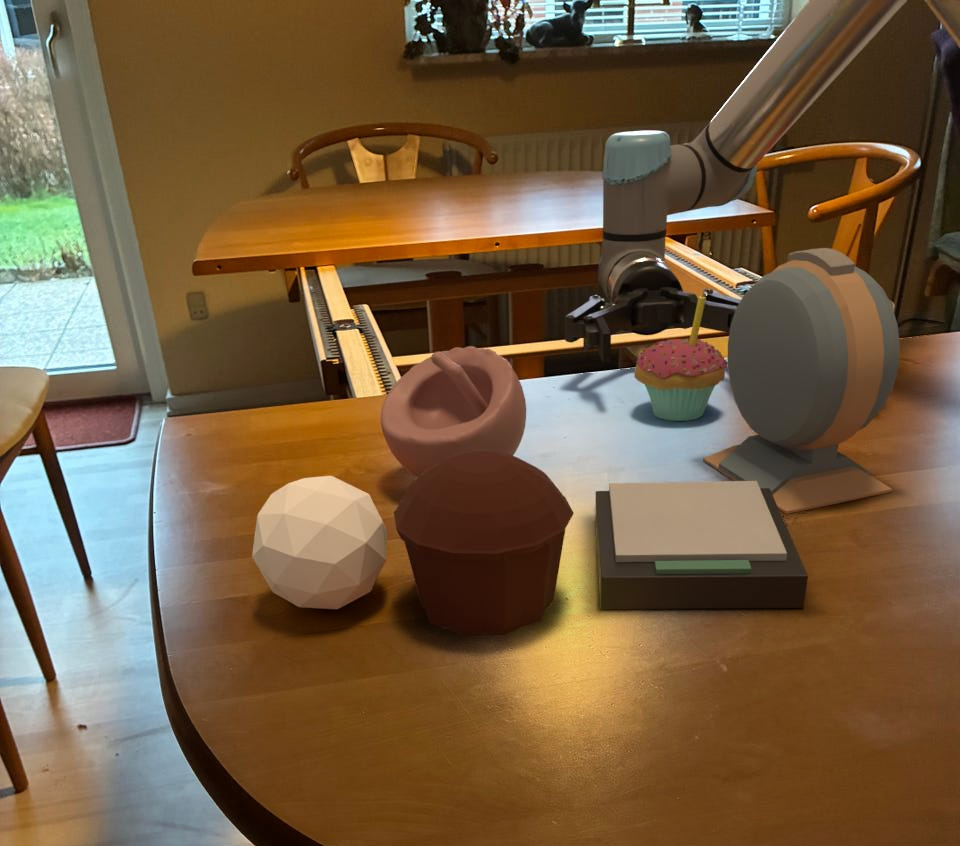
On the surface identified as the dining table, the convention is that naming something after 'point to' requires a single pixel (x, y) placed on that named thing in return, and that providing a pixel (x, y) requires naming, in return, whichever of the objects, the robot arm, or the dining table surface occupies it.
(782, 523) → the scale
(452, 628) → the muffin
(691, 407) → the cupcake
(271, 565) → the white geodesic ball
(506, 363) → the mortar and pestle
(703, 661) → the dining table surface
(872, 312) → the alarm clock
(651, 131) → the robot arm
